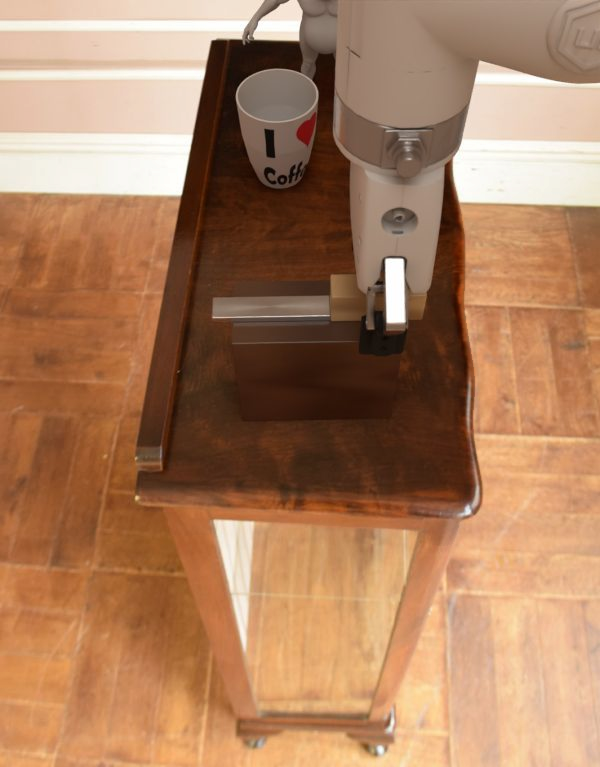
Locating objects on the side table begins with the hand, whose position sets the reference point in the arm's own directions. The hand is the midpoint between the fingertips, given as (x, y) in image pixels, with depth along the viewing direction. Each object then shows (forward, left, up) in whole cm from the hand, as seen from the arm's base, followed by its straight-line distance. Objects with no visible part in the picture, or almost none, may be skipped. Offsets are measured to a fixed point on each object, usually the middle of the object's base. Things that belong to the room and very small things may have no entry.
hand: (375, 298), depth 58 cm
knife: (+3, -3, -1) cm, 5 cm away
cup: (-13, -26, -14) cm, 32 cm away
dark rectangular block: (+3, -3, -13) cm, 14 cm away
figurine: (-24, -30, -14) cm, 41 cm away
